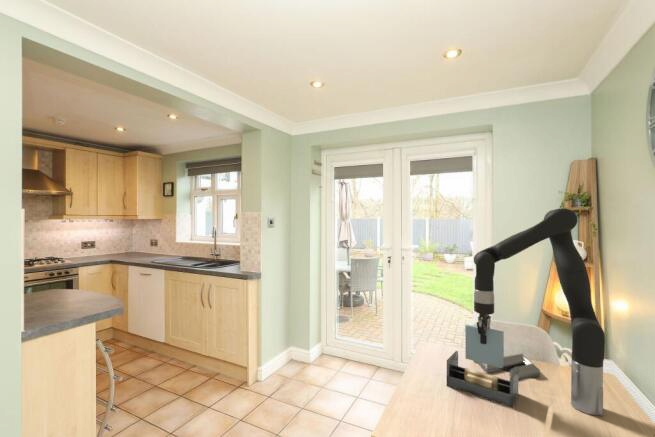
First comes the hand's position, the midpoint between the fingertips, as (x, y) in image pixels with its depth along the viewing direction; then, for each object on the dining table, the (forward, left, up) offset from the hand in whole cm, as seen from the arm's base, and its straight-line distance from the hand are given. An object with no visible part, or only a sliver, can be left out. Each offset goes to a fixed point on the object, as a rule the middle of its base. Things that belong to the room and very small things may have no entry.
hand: (484, 342), depth 132 cm
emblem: (-3, -27, -20) cm, 33 cm away
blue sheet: (0, 0, -8) cm, 8 cm away
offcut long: (0, +5, -18) cm, 19 cm away
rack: (0, +3, -20) cm, 20 cm away
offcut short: (0, +7, -18) cm, 19 cm away
